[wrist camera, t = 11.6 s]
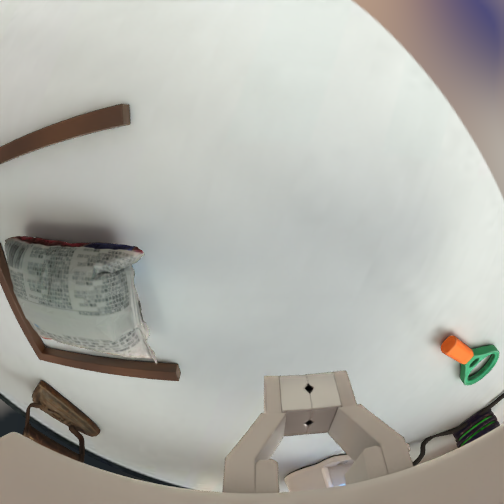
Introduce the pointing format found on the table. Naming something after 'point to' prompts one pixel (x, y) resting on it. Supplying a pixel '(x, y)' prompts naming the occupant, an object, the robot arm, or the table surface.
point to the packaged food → (80, 293)
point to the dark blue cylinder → (476, 427)
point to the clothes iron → (62, 412)
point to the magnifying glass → (470, 358)
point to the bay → (9, 151)
